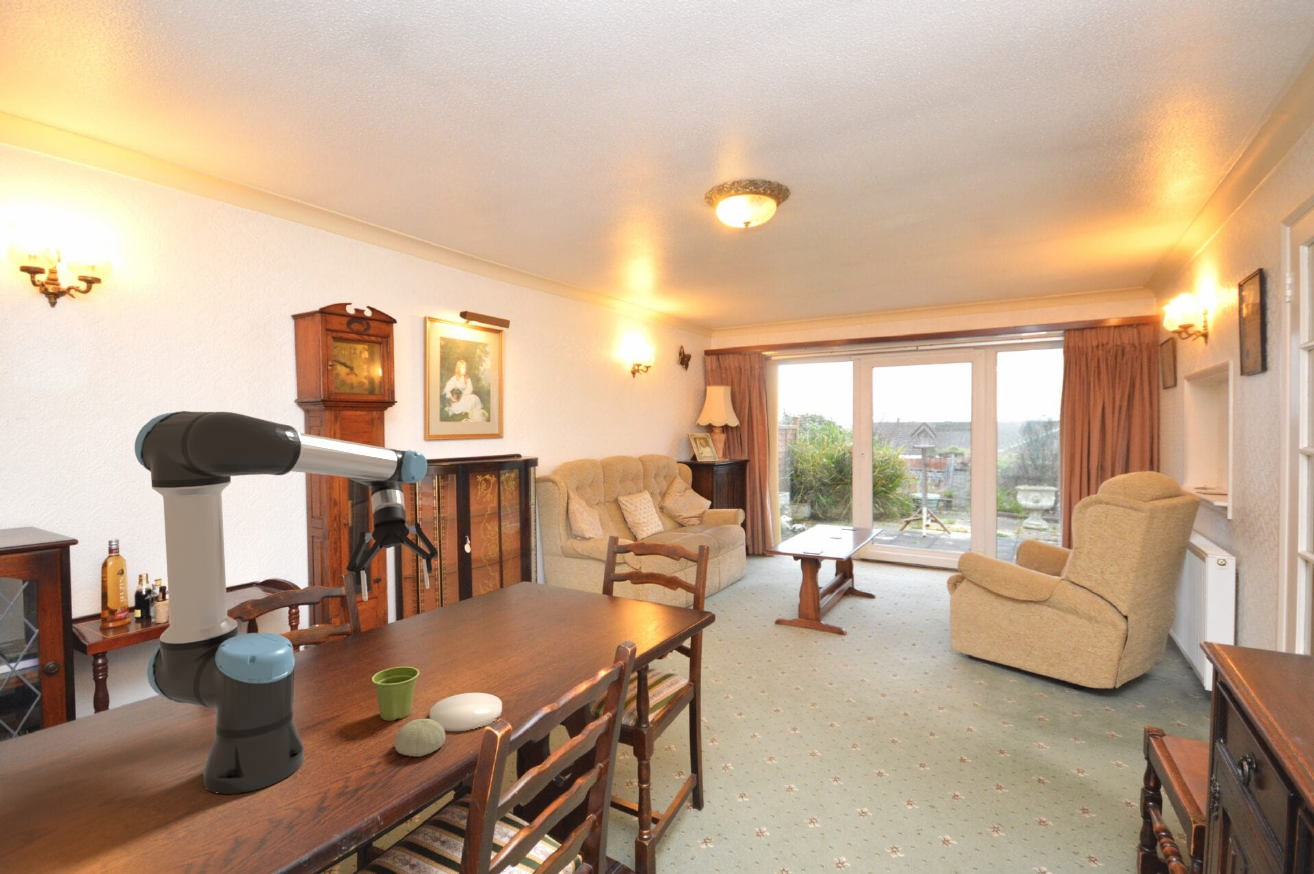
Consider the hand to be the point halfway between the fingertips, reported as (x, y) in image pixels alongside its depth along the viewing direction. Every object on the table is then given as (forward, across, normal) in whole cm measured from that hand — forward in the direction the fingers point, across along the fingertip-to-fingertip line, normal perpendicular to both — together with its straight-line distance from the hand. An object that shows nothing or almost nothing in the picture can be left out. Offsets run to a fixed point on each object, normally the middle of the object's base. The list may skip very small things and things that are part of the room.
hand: (396, 593), depth 143 cm
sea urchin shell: (+36, -2, +11) cm, 38 cm away
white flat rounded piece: (+30, -12, +1) cm, 33 cm away
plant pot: (+26, +3, -2) cm, 27 cm away
